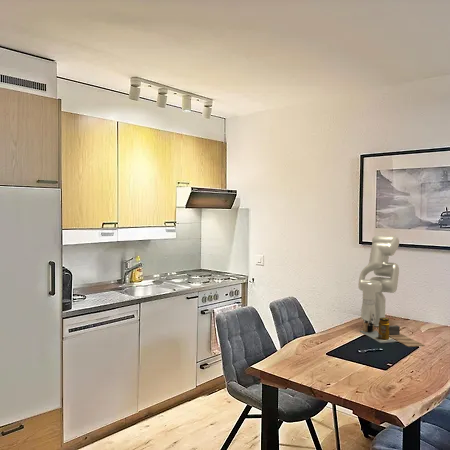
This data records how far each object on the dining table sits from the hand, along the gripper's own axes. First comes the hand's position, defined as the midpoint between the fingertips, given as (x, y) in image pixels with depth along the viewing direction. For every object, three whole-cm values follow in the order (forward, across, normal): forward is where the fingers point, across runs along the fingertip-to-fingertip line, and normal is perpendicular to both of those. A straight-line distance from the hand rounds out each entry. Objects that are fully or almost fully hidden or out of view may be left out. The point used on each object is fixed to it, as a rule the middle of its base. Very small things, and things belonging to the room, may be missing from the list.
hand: (368, 330), depth 276 cm
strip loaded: (+1, +10, 0) cm, 11 cm away
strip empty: (+1, +20, +11) cm, 23 cm away
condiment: (0, +16, 0) cm, 17 cm away
